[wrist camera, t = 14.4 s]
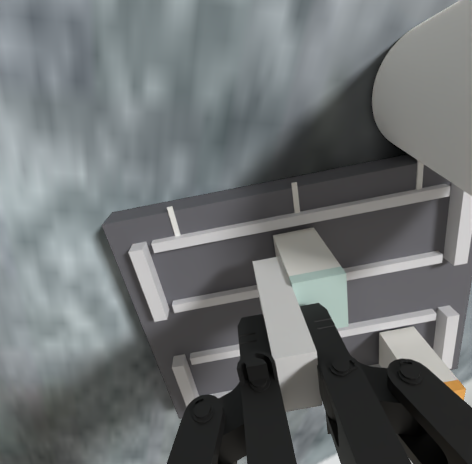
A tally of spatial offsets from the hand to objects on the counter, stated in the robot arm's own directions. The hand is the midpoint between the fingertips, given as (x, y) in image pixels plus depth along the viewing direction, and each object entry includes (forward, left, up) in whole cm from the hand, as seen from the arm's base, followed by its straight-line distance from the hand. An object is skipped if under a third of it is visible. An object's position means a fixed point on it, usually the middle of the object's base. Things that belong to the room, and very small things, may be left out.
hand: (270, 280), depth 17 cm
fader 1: (+2, 0, -2) cm, 3 cm away
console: (+2, -4, -5) cm, 7 cm away
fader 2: (+8, -9, -2) cm, 12 cm away
